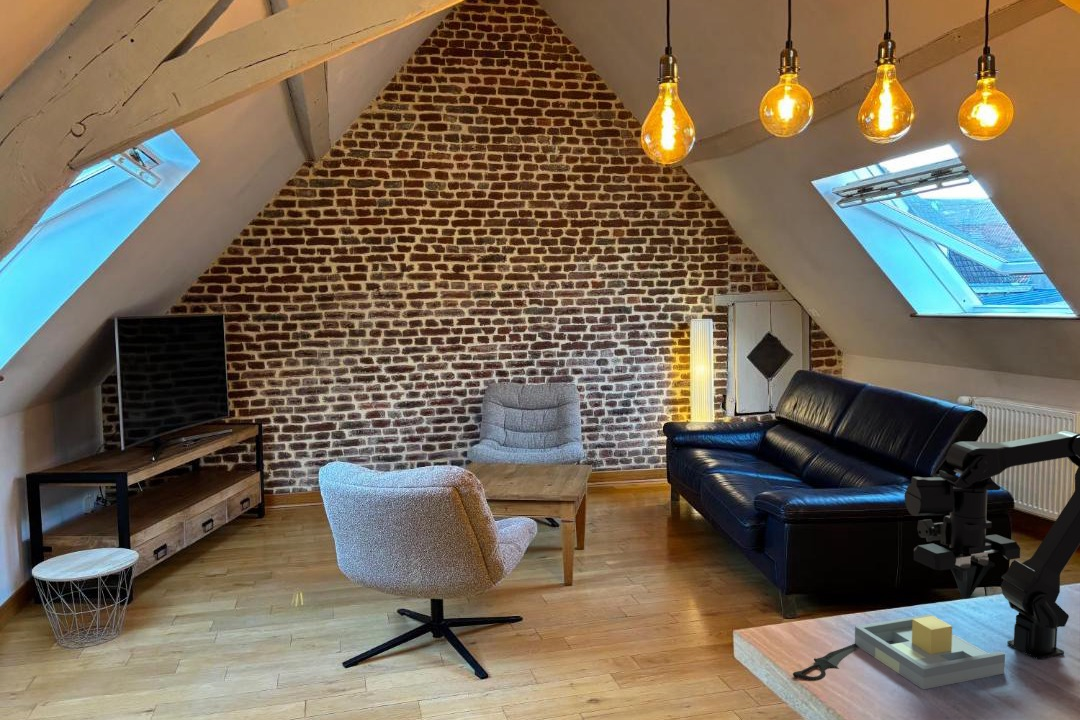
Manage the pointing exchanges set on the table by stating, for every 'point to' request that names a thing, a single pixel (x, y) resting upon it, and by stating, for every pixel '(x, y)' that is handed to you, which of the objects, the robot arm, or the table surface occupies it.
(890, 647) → the tray
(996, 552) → the robot arm
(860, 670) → the table surface
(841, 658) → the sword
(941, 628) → the block
